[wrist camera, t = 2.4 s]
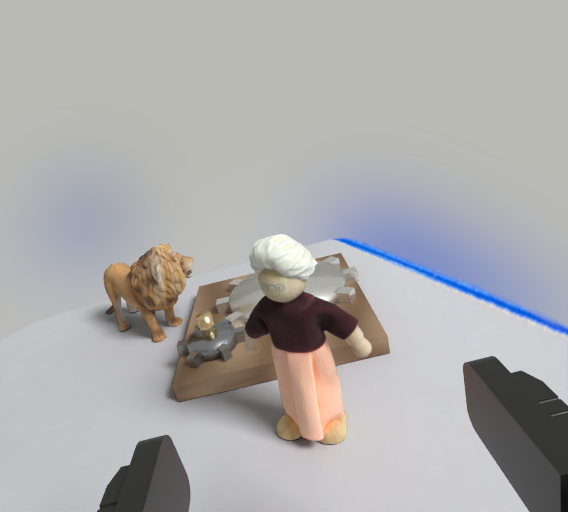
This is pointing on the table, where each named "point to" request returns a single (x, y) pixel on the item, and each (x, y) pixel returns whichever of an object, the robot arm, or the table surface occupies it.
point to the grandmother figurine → (300, 341)
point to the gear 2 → (321, 284)
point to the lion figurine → (149, 287)
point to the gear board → (264, 346)
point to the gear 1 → (210, 340)
